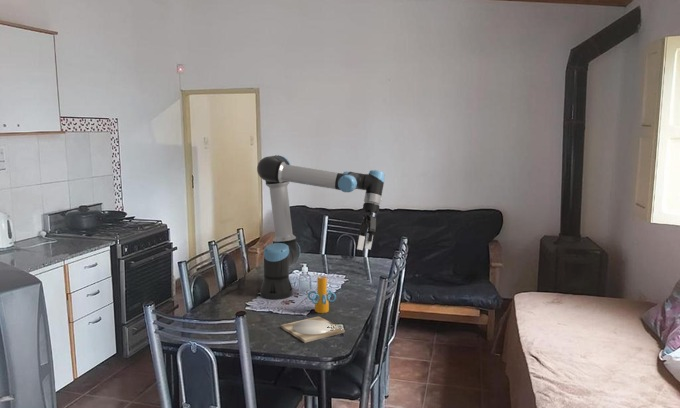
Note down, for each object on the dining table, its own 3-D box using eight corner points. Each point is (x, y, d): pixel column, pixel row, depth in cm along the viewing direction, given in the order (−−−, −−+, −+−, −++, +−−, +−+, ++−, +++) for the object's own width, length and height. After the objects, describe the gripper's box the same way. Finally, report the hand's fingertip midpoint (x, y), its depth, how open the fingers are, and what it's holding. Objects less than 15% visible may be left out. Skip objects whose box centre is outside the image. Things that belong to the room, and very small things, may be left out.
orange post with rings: (322, 305, 236) (322, 272, 233) (340, 310, 229) (340, 276, 227) (303, 312, 226) (303, 277, 224) (321, 317, 220) (321, 282, 218)
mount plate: (280, 327, 208) (280, 324, 208) (319, 318, 218) (319, 315, 218) (304, 342, 194) (304, 339, 193) (344, 332, 204) (344, 329, 204)
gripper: (387, 202, 232) (379, 250, 229) (371, 208, 257) (364, 251, 253) (371, 198, 231) (362, 246, 228) (357, 205, 255) (349, 248, 252)
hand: (363, 249), depth 241 cm, fingers open, 13 cm apart
